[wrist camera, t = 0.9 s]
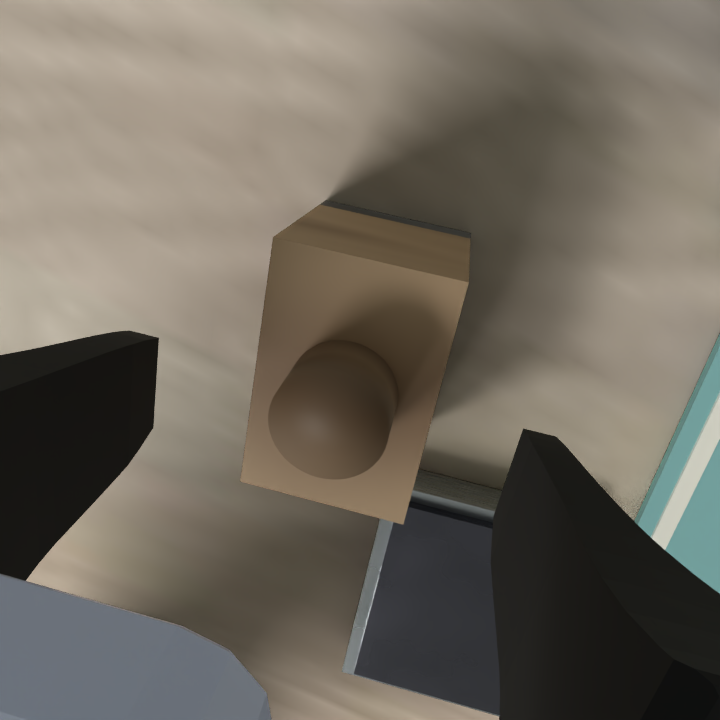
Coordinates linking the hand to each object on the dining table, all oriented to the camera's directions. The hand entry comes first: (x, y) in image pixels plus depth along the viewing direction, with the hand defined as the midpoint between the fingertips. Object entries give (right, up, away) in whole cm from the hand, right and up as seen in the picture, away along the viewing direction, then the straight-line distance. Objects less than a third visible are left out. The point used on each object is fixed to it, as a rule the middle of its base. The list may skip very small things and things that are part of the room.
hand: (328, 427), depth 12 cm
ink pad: (+4, -6, +9) cm, 12 cm away
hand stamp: (+1, +2, +6) cm, 7 cm away
